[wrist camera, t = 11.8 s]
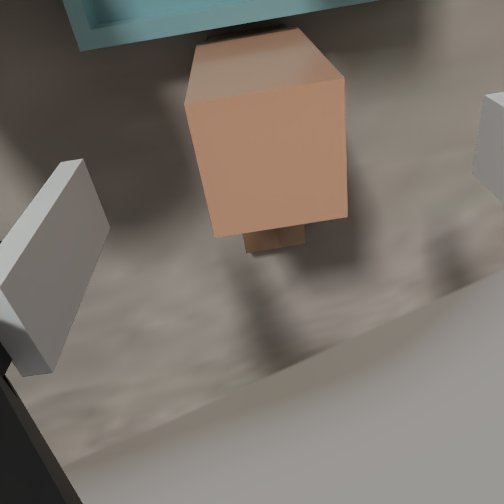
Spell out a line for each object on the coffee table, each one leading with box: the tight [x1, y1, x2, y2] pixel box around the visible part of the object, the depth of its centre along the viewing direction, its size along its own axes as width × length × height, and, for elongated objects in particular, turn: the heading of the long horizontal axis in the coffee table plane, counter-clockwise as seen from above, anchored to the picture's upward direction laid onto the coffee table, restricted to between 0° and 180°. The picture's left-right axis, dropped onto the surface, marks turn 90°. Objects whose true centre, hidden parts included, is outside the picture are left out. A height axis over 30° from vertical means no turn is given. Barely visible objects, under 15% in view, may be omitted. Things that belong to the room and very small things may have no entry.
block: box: [184, 26, 348, 238], centre depth 19 cm, size 5×5×10 cm
